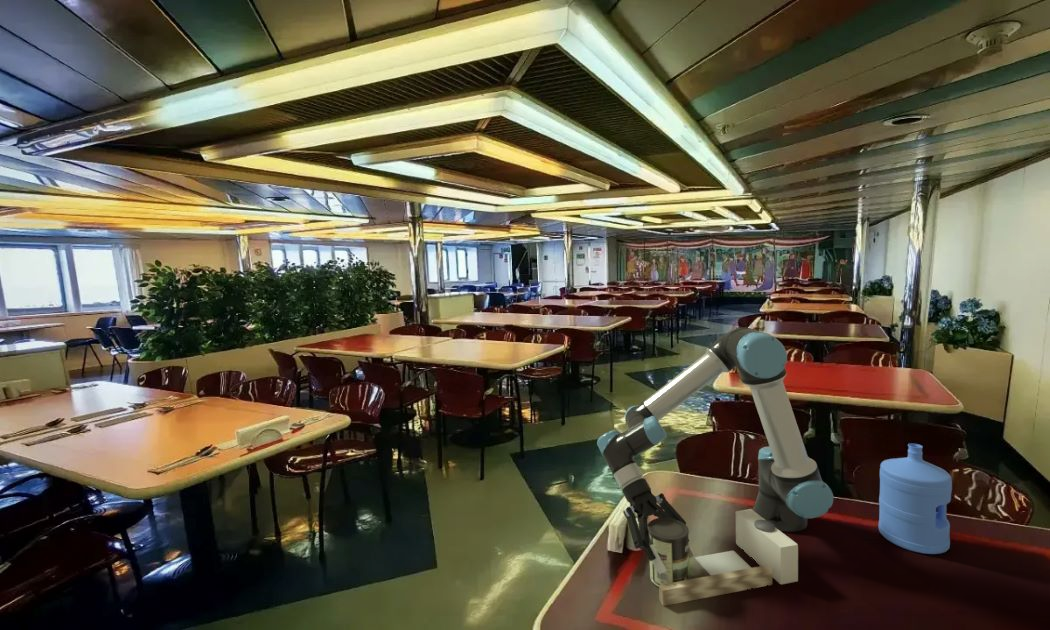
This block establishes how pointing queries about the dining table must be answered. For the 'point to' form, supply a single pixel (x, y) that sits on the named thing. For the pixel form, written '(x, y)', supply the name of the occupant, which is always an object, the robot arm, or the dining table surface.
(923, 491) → the water jug
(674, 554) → the coffee can
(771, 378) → the robot arm
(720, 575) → the guide rail
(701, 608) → the dining table surface
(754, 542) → the end cabinet
